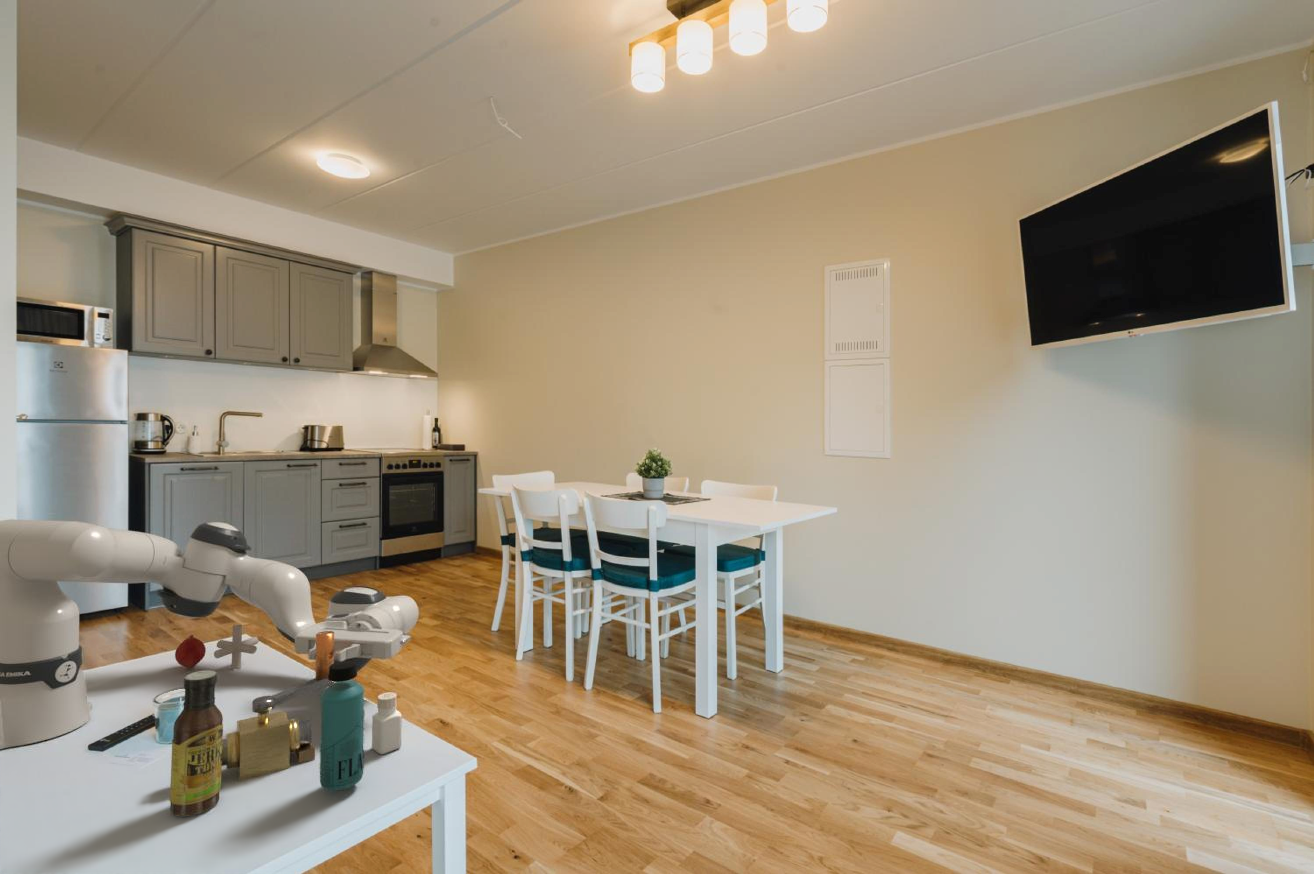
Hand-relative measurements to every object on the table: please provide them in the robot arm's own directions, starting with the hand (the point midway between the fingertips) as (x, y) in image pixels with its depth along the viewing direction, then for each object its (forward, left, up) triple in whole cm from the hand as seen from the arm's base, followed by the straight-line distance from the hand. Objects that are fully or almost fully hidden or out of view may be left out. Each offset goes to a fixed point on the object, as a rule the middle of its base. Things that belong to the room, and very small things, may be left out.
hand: (324, 656), depth 118 cm
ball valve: (-5, -12, -15) cm, 20 cm away
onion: (-51, +25, -15) cm, 59 cm away
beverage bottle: (+14, -15, -15) cm, 25 cm away
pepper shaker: (+14, -2, -15) cm, 21 cm away
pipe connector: (-41, +27, -15) cm, 52 cm away
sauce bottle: (-5, -23, -15) cm, 28 cm away
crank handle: (-2, -5, -5) cm, 8 cm away
